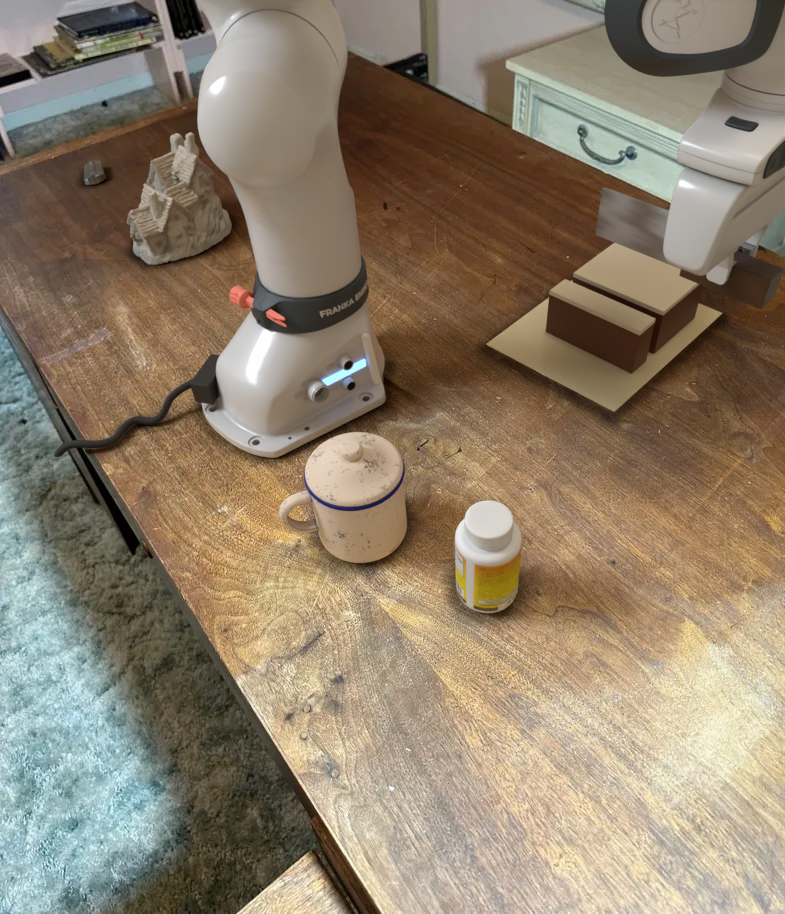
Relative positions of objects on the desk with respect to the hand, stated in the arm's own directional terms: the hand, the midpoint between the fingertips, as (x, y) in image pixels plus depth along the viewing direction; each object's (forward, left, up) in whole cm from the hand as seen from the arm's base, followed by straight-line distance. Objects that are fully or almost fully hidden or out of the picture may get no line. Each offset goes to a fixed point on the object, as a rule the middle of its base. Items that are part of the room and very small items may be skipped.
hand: (729, 270), depth 68 cm
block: (-11, +105, -19) cm, 107 cm away
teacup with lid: (-34, +16, -19) cm, 42 cm away
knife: (0, +5, -2) cm, 5 cm away
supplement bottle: (-30, +2, -19) cm, 36 cm away
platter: (+7, +15, -19) cm, 25 cm away
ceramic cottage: (-12, +78, -19) cm, 81 cm away
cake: (+11, +14, -18) cm, 26 cm away
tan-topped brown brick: (+4, +14, -18) cm, 23 cm away
